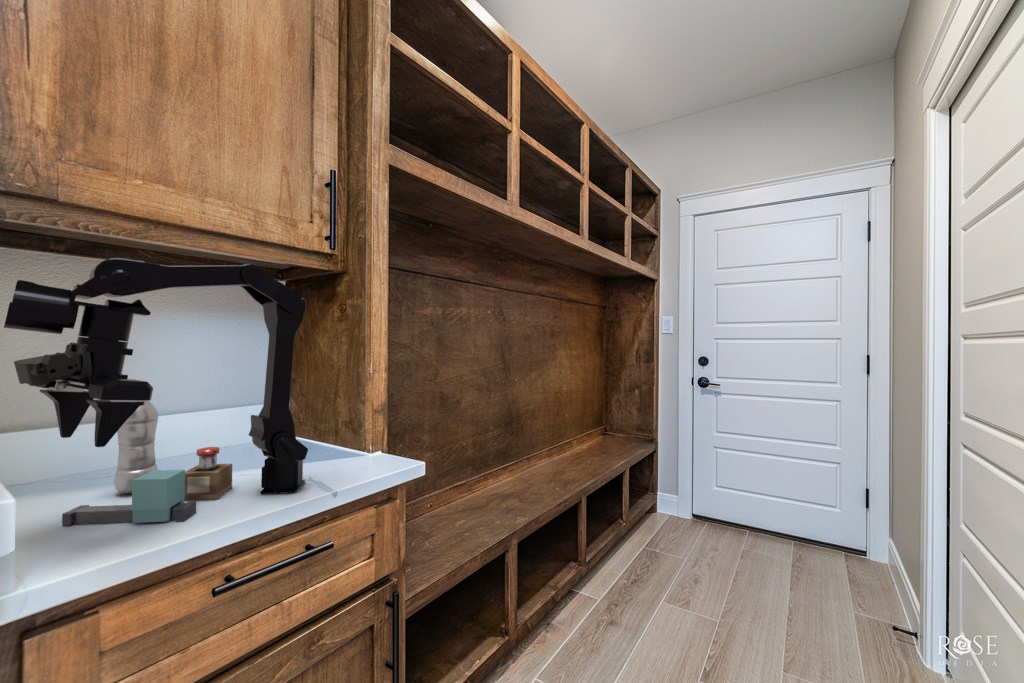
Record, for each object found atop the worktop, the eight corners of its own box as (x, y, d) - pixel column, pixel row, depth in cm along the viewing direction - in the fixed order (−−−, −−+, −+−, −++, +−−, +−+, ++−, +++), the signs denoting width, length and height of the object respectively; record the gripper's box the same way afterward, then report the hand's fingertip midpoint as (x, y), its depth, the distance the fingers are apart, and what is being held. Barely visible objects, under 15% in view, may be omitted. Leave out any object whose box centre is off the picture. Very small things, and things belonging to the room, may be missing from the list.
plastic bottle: (166, 485, 88) (168, 386, 88) (139, 498, 81) (140, 390, 81) (133, 485, 88) (135, 386, 88) (103, 497, 81) (105, 390, 81)
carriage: (184, 510, 75) (185, 469, 75) (166, 522, 71) (166, 478, 70) (152, 511, 75) (152, 470, 75) (131, 523, 70) (132, 479, 70)
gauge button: (222, 474, 86) (223, 446, 86) (213, 480, 82) (213, 451, 82) (202, 475, 85) (202, 447, 85) (192, 481, 82) (192, 451, 82)
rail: (196, 512, 75) (196, 501, 75) (183, 521, 72) (184, 509, 72) (80, 517, 72) (80, 505, 72) (62, 526, 69) (62, 514, 69)
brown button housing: (231, 488, 87) (232, 463, 87) (215, 500, 81) (216, 473, 81) (198, 489, 86) (199, 464, 86) (179, 501, 80) (180, 474, 80)
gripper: (-2, 327, 63) (-28, 436, 62) (68, 335, 56) (42, 458, 55) (94, 338, 74) (74, 432, 72) (163, 346, 67) (143, 450, 65)
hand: (82, 442), depth 66 cm, fingers open, 9 cm apart
